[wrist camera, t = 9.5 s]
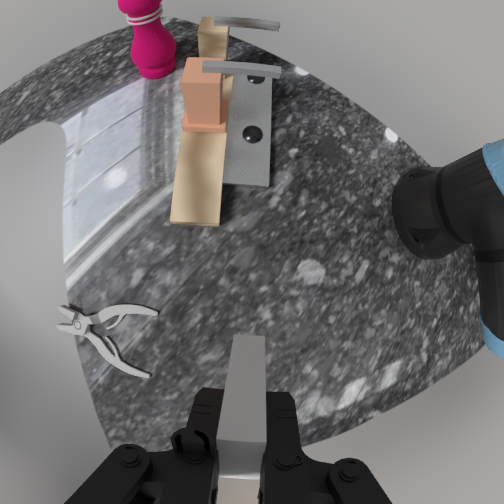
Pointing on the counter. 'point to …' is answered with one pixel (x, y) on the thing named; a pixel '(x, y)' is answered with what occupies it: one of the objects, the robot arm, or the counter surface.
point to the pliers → (83, 328)
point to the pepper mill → (149, 38)
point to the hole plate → (248, 133)
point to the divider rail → (207, 136)
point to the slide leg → (213, 90)
